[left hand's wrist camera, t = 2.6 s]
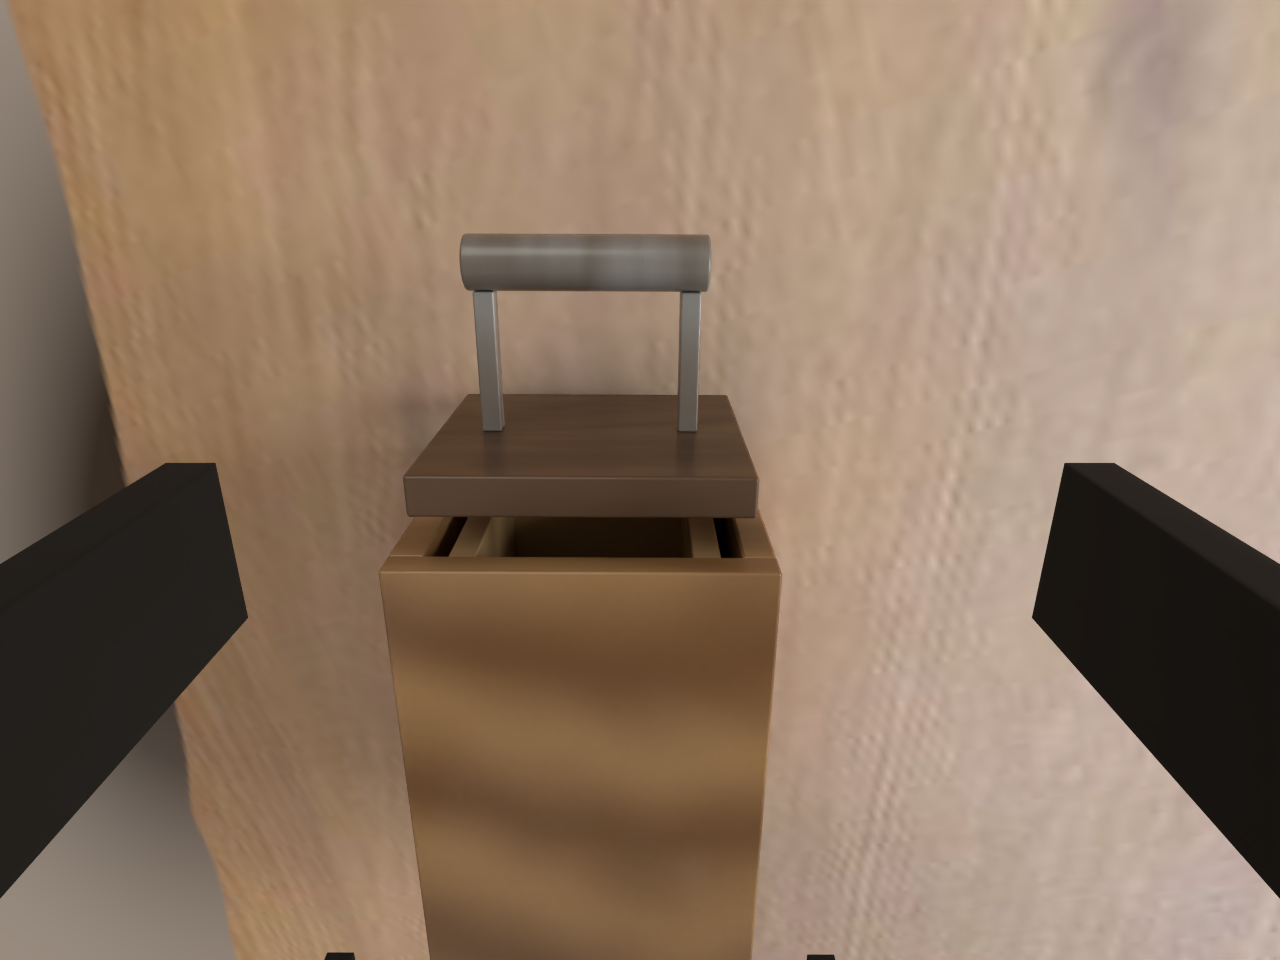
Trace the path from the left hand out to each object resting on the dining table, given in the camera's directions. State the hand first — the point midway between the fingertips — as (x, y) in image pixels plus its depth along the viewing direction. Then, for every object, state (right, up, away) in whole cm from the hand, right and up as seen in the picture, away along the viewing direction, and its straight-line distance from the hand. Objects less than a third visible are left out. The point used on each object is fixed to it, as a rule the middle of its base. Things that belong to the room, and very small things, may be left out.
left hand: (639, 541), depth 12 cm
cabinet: (-2, -5, +20) cm, 21 cm away
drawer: (-2, 0, +17) cm, 17 cm away
